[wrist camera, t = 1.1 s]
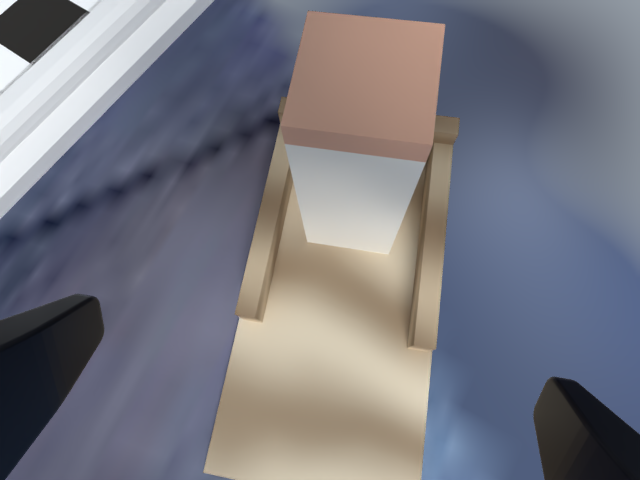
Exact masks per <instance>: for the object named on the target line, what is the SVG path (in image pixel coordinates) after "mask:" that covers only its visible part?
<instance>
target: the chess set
mask: <svg viewBox="0 0 640 480" xmlns="http://www.w3.org/2000/svg"><path fill="white" fill-rule="evenodd" d="M213 1H214V0H0V219H1V218H2V217H3V216H4V215H5V214H6V213H7V212H8V211H9V210H10V209H11V208H12V207H13V206H14V205H15V203H16V202H17V201H18V200H19V199H20V198H21V197H22V196H23V195H24V194H25V193H26V192H27V191H28V190H29V189H30V188H31V187H32V186H33V185H34V184H35V183H36V182H37V181H38V180H39V179H40V178H41V177H42V176H43V175H44V174H45V173H46V172H47V171H48V170H49V169H50V168H51V167H52V166H53V165H54V164H55V163H56V162H57V161H58V160H59V159H60V158H61V156H62V155H63V154H64V153H65V152H66V151H67V150H68V149H69V148H70V147H71V146H72V145H73V144H74V143H75V142H76V141H77V140H78V139H79V138H80V137H81V136H82V135H83V134H84V133H85V132H86V131H87V130H88V129H89V128H90V127H91V126H92V125H93V124H94V123H95V122H96V121H97V120H98V119H99V118H100V117H101V116H102V115H103V114H104V113H105V112H106V111H107V109H108V108H109V107H110V106H111V105H112V104H113V103H114V102H115V101H116V100H117V99H118V98H119V97H120V96H121V95H122V94H123V93H124V92H125V91H126V90H127V89H128V88H129V87H130V86H131V85H132V84H133V83H134V82H135V81H136V80H137V79H138V78H139V77H140V76H141V75H142V74H143V73H144V72H145V71H146V70H147V69H148V68H149V67H150V66H151V65H152V64H153V62H154V61H155V60H156V59H157V58H158V57H159V56H160V55H161V54H162V53H163V52H164V51H165V50H166V49H167V48H168V47H169V46H170V45H171V44H172V43H173V42H174V41H175V40H176V39H177V38H178V37H179V36H180V35H181V34H182V33H183V32H184V31H185V30H186V29H187V28H188V27H189V26H190V25H191V24H192V23H193V22H194V21H195V20H196V19H197V18H198V17H199V15H200V14H201V13H202V12H203V11H204V10H205V9H206V8H207V7H208V6H209V5H210V4H211V3H212V2H213Z"/></svg>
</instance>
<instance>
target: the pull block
mask: <svg viewBox="0 0 640 480" xmlns="http://www.w3.org/2000/svg"><path fill="white" fill-rule="evenodd" d="M444 30H445V24H438V23H428V22H418V21H408V20H397V19H387V18H377V17H367V16H357V15H346V14H336V13H326V12H316V11H308V12H307V16H306V20H305V25H304V29H303V33H302V37H301V41H300V46H299V50H298V54H297V58H296V62H295V66H294V71H293V75H292V79H291V83H290V87H289V92H288V96H287V100H286V104H285V108H284V112H283V117H282V121H281V125H280V126H281V131H282V135H283V139H284V144H285V148H286V152H287V157H288V161H289V165H290V170H291V174H292V178H293V182H294V187H295V191H296V195H297V200H298V204H299V208H300V213H301V217H302V221H303V225H304V230H305V234H306V238H307V242H311V243H317V244H324V245H330V246H337V247H343V248H350V249H356V250H363V251H369V252H376V253H382V254H389V252H390V250H391V247H392V245H393V242H394V240H395V238H396V235H397V233H398V230H399V228H400V225H401V223H402V220H403V218H404V215H405V213H406V210H407V208H408V205H409V203H410V200H411V198H412V195H413V193H414V190H415V188H416V185H417V183H418V181H419V178H420V176H421V173H422V171H423V168H424V166H425V163H426V161H427V158H428V156H429V153H430V151H431V148H432V146H433V138H434V129H435V119H436V109H437V99H438V89H439V79H440V69H441V60H442V49H443V40H444Z"/></svg>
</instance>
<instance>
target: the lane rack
mask: <svg viewBox="0 0 640 480" xmlns="http://www.w3.org/2000/svg"><path fill="white" fill-rule="evenodd" d="M286 100H287V97H281V101H280V105H279V109H278V115H279V119H280V125H281V121H282V117H283V112H284V108H285V104H286ZM459 120H460V118H455V117H448V116H439V115H436V119H435V129H434V138H433V146H432V148H431V151H430V153H429V156H428V158H427V161H426V163H425V166H424V168H423V171H422V173H421V176H420V178H419V181H418V183H417V185H416V188H415V190H414V193H413V195H412V198H411V200H410V203H409V205H408V208H407V210H406V213H405V215H404V218H403V220H402V223H401V225H400V228H399V230H398V233H397V235H396V238H395V240H394V242H393V245H392V247H391V250H390V252H389V254H382V253H376V252H369V251H363V250H356V249H350V248H343V247H337V246H330V245H324V244H317V243H311V242H307V238H306V234H305V230H304V225H303V221H302V217H301V213H300V208H299V204H298V200H297V195H296V191H295V187H294V182H293V178H292V174H291V170H290V165H289V161H288V157H287V152H286V148H285V144H284V139H283V135H282V131H281V126H280V127H279V131H278V135H277V139H276V144H275V148H274V152H273V156H272V160H271V164H270V169H269V173H268V177H267V181H266V185H265V189H264V194H263V198H262V202H261V206H260V210H259V215H258V219H257V223H256V227H255V231H254V235H253V240H252V244H251V248H250V252H249V256H248V260H247V265H246V269H245V273H244V277H243V281H242V285H241V290H240V294H239V298H238V302H237V306H236V311H235V315H237V316H239V317H240V318H239V322H238V326H237V331H236V335H235V339H234V343H233V348H232V352H231V356H230V360H229V365H228V369H227V373H226V378H225V382H224V386H223V390H222V395H221V399H220V403H219V407H218V412H217V416H216V420H215V424H214V429H213V433H212V437H211V441H210V446H209V450H208V454H207V458H206V463H205V467H204V471H203V473H207V474H212V475H216V476H221V477H226V478H230V479H235V480H421V474H422V463H423V451H424V440H425V428H426V417H427V405H428V394H429V382H430V371H431V359H432V350H435V349H436V343H437V332H438V320H439V308H440V296H441V284H442V272H443V259H444V248H445V235H446V224H447V213H448V200H449V189H450V177H451V165H452V153H453V144H454V142H455V140H456V138H457V136H458V132H459Z"/></svg>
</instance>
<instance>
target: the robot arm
mask: <svg viewBox="0 0 640 480" xmlns="http://www.w3.org/2000/svg"><path fill="white" fill-rule="evenodd" d="M103 334H104V324H103V318H102V313H101V308H100V303H99V300H98V299H97V298H96V297H94V296H88V295H83V294H74V295H71V296H68V297H65V298H63V299H60V300H57V301H54V302H51V303H48V304H45V305H43V306H40V307H37V308H34V309H31V310H28V311H25V312H23V313H20V314H17V315H14V316H11V317H8V318H6V319H3V320H0V480H5V479H6V478H7V476H8V475H9V474H10V473H11V471H12V470H13V469H14V467H15V466H16V465H17V463H18V462H19V461H20V459H21V458H22V457H23V455H24V454H25V453H26V451H27V450H28V449H29V447H30V446H31V445H32V443H33V442H34V441H35V439H36V438H37V437H38V435H39V434H40V433H41V431H42V430H43V429H44V427H45V426H46V425H47V423H48V422H49V421H50V419H51V418H52V417H53V415H54V414H55V413H56V411H57V410H58V409H59V407H60V406H61V404H62V403H63V401H64V400H65V398H66V397H67V395H68V394H69V392H70V390H71V389H72V387H73V386H74V384H75V382H76V381H77V379H78V377H79V376H80V374H81V373H82V371H83V369H84V368H85V366H86V364H87V363H88V361H89V360H90V358H91V356H92V355H93V353H94V351H95V350H96V348H97V347H98V345H99V343H100V342H101V340H102V337H103ZM534 424H535V430H536V435H537V440H538V446H539V452H540V457H541V463H542V468H543V474H544V479H545V480H640V434H639V433H637V432H636V431H635V430H634V429H633V428H631V427H630V426H629V425H628V424H626V423H625V422H624V421H623V420H622V419H621V418H619V417H618V416H617V415H616V414H614V413H613V412H612V411H611V410H610V409H609V408H607V407H606V406H605V405H604V404H603V403H601V402H600V401H599V400H598V399H597V398H596V397H594V396H593V395H592V394H591V393H590V392H588V391H587V390H586V389H585V388H584V387H582V386H581V385H580V384H579V383H577V382H576V381H574V380H571V379H565V378H559V377H551V378H549V379H548V380H547V382H546V383H545V386H544V388H543V390H542V392H541V394H540V396H539V399H538V401H537V403H536V405H535V408H534Z"/></svg>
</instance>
